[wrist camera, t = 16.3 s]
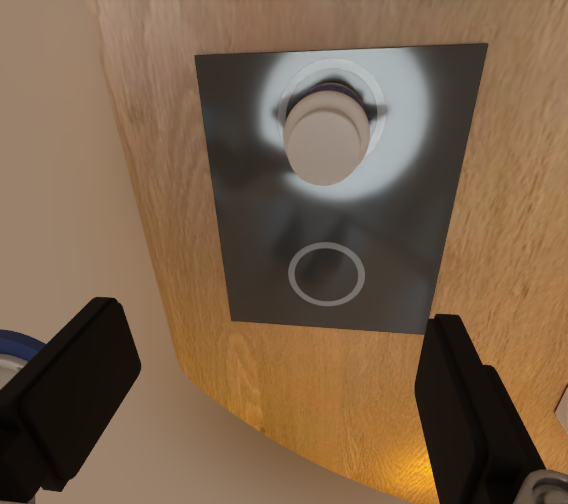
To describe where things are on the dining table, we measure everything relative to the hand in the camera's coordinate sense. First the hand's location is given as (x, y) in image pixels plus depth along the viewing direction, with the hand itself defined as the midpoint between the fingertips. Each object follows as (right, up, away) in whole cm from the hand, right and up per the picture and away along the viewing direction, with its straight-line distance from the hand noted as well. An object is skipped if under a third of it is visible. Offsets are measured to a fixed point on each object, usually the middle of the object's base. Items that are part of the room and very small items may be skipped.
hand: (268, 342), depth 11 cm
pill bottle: (+4, +13, +16) cm, 21 cm away
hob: (+4, +6, +20) cm, 21 cm away
